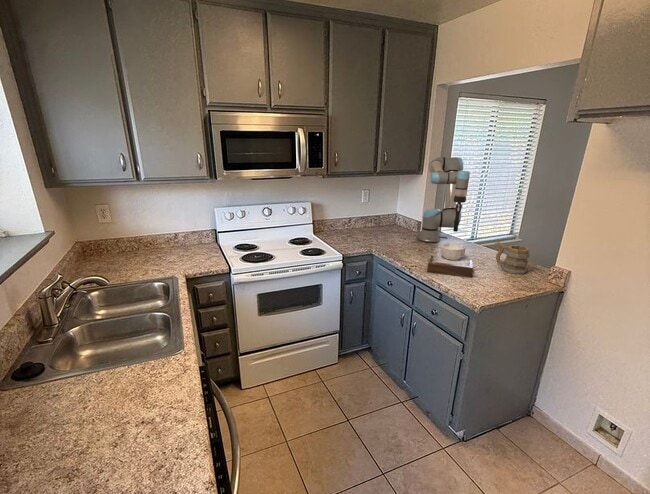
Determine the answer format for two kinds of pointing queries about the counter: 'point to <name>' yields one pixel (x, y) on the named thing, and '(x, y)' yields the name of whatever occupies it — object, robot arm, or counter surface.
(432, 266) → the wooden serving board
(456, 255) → the paper bowls
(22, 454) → the counter surface
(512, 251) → the tankard
